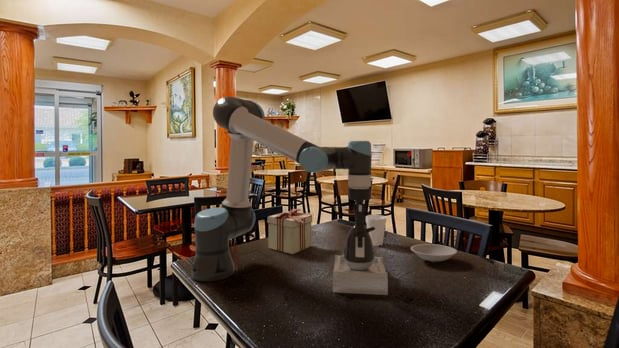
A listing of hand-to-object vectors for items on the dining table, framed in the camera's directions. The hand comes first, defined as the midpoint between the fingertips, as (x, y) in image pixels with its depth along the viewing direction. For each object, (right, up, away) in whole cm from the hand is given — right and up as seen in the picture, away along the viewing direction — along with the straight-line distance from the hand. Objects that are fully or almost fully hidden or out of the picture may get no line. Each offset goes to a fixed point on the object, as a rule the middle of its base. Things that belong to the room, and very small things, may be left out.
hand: (359, 249), depth 107 cm
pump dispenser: (0, -6, +1) cm, 7 cm away
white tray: (+1, -11, +4) cm, 12 cm away
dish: (+33, -10, +20) cm, 40 cm away
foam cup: (+15, -8, +43) cm, 46 cm away
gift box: (-24, -9, +39) cm, 47 cm away
